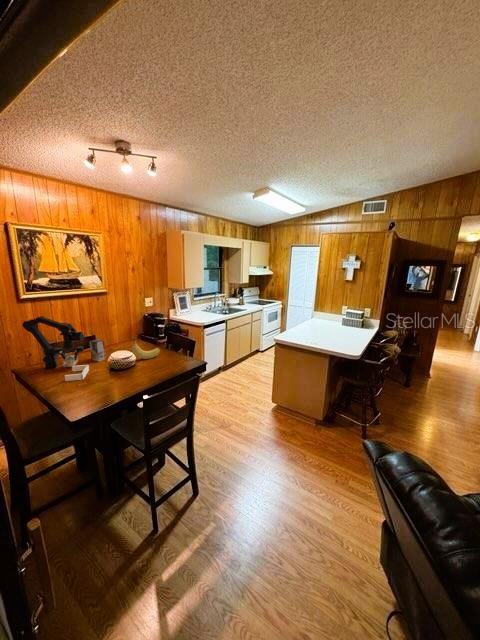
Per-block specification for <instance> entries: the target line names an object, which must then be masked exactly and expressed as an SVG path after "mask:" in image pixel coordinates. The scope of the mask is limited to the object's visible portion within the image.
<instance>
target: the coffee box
mask: <svg viewBox="0 0 480 640" xmlns="http://www.w3.org/2000/svg"><path fill="white" fill-rule="evenodd" d="M89 347H90V348H89V349H90V350H89V351H90V357H91V361H96V362H101V361H104V360H106V354H105V353H106V352H105V343H104V339H103V340H102V339H97V338H95V339H93V340H89Z"/></svg>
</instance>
